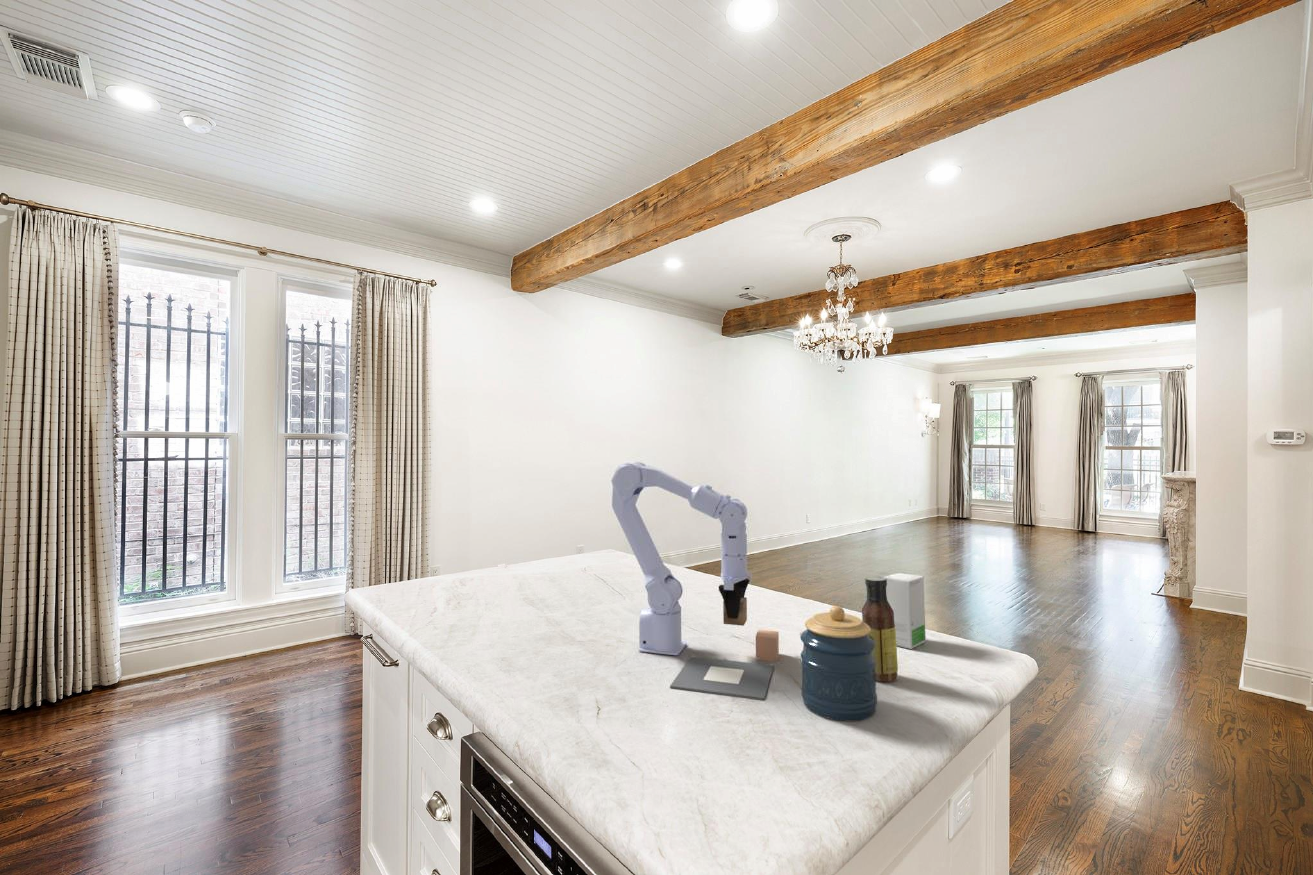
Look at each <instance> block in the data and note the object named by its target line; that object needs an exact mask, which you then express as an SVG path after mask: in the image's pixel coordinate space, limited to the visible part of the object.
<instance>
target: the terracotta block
mask: <svg viewBox="0 0 1313 875" xmlns="http://www.w3.org/2000/svg"><path fill="white" fill-rule="evenodd" d="M779 639H780V638H779V631H774V630H765V629H758V630H757V632H756V635H755V659H756V658H757V659H756V660H762V659H763V660H764V661H772V660H773V662H777V661H778V657H779V655H778V654H780V652H779V650H780V649H779V648H780V647H779V646H780V644H779V643H780V642H779V641H780V640H779ZM763 660H762V661H763Z"/></svg>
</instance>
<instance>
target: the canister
mask: <svg viewBox="0 0 1313 875" xmlns="http://www.w3.org/2000/svg"><path fill="white" fill-rule="evenodd" d="M804 626H805V628H806V629H805V630H804V631H801V633H800V637H799V638H800V640H801V642H802V643H803V649H802V650H801V653H800V658H801V686H800V689H801V691H800V693H801V697H802V698H801V699H802V702H803V705H804V706H805V707H806V708H807V709H808V710H810V712H812V713H814V714H816V715H818V716H821V717H824V718H827V719H830V720H836V721H845V722H854V721H855V722H856V721H862V720H866V719H868V718H870V717H872V716H873V715H875V713H876V710H877V709H876V708H877V706H878V695H877V683H876V682H877V681H876V659H875V658H874V656H873V649H874V648H875V647H876V641H875V640H874V639H873V638H872V637H871V636H870V635H869V633H870V632H871V628H870V627H869V625H867V624H866V623H864V622H863V620H862V619H861V618H860V617H858V616H855V615H852V614H848V613H845V610H844V609H843V607H841V606H840V605H839V606H838V605H834V606H832V607H831V608H830V610H829V612H821V613H817V614H815V615H813V616H812V617H811V618H809V619H807V620H806V621H805V623H804Z"/></svg>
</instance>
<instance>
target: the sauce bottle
mask: <svg viewBox="0 0 1313 875" xmlns="http://www.w3.org/2000/svg"><path fill="white" fill-rule="evenodd" d="M884 577H885V576H878V575H870V576H866V577H865V578H864V583H865V586H866V601H865V603H864V605H863V606H862V607H861V615H862V616H861V617H862V619H861V620H862V622H864V623H866V624H867V625H869V627H870V628H871V632H870V633H869V635H870V636H871V637H872V638H873V639H874V640H875V641H876V647H875V648H874V649H873V656H874V658H875V659H876V682H881V683H893V682H895V681H896V680H897V679H898V671H899V668H898V666H899V663H898V650H897V649H898V648H897V647H898V646H896V631H895V624H894V611H893V610H892V608H891V606H890V604H889V603H888V601H887V596H886V586H887V580H886V578H884Z"/></svg>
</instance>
